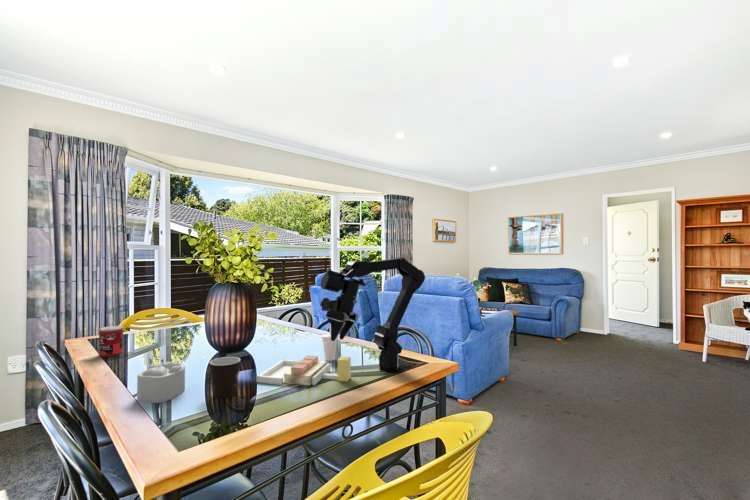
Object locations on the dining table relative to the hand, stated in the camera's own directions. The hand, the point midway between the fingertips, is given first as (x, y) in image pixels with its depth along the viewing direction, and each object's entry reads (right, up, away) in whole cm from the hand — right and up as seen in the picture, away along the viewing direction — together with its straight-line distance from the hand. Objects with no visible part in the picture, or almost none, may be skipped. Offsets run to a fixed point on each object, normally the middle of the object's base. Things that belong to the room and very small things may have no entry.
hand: (336, 340), depth 125 cm
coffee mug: (-32, -13, -14) cm, 37 cm away
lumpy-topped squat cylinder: (-51, -13, -15) cm, 54 cm away
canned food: (-96, -12, +25) cm, 100 cm away
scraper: (-1, -13, -1) cm, 13 cm away
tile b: (-11, -10, +1) cm, 15 cm away
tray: (-19, -13, +3) cm, 23 cm away
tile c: (-12, -10, -4) cm, 16 cm away
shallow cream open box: (-11, -13, +1) cm, 16 cm away
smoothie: (-5, -13, +20) cm, 24 cm away
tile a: (-10, -10, +6) cm, 15 cm away
